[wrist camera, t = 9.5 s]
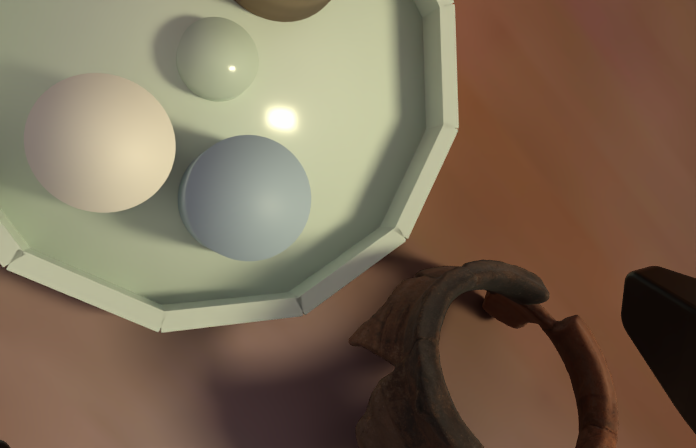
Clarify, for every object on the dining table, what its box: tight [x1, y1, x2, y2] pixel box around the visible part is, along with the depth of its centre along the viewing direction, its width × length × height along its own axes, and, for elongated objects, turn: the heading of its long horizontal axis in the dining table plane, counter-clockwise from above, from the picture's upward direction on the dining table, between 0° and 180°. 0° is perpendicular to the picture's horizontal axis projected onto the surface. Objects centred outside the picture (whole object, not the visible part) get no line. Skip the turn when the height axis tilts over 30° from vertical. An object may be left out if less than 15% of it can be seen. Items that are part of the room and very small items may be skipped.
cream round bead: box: [24, 73, 176, 213], centre depth 15 cm, size 4×4×2 cm
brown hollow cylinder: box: [349, 260, 619, 448], centre depth 20 cm, size 12×10×8 cm
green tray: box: [0, 0, 459, 333], centre depth 17 cm, size 16×16×2 cm
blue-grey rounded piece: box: [178, 135, 311, 261], centre depth 17 cm, size 4×4×2 cm
